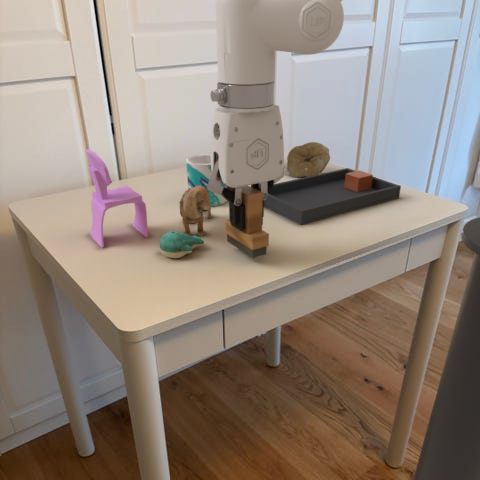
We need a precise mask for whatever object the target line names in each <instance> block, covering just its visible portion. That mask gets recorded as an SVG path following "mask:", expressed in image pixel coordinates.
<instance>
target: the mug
mask: <svg viewBox="0 0 480 480" xmlns="http://www.w3.org/2000/svg"><path fill="white" fill-rule="evenodd" d="M185 163H186V176H187V190H188V189H191V188H193V187H196V186H199V185H200V186H202V187H205V188H206V189H207V185H208V183H209V180H210V177H211V174H212V171H211V153H200V154H192V155H191V156H189V157H186V158H185ZM221 186H224V187H226V184H224V183H223V181H221ZM207 192H208V195H209V203H211V205H210V207H211V208H212V207H217V206H221V205H223V204H225V203H227V202H228V201H227V200H226V199H225V198H224V197H223V196H222V195H219V194H216V193H213V192H211V191H209V190H208V189H207Z"/></svg>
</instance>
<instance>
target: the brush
mask: <svg viewBox="0 0 480 480" xmlns="http://www.w3.org/2000/svg"><path fill="white" fill-rule="evenodd" d="M262 200H263V192H261V191H259V190H256V189H254V188H252V187H251V185H247V186H243V188H242V204H243V205H245V229H244V230H243V231H240V230H238V229H237V228H235V227H233V226H232V225H231V223H230V220H225V221H224V234H226V242H227V243H228V244H230V245H232V246H233V247H235V248H236V249H238V250H239V251H240V252H242V253H244V254H245V255H247V256H248V257H250V258H251V259H255V258H259V257H263V256H266V255H267V252H268V251H267V249H268V246H270V245H269V244H270V243H269V242H270V234H269V232H267V231H266V230H263V225H262Z"/></svg>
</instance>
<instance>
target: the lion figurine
mask: <svg viewBox="0 0 480 480" xmlns="http://www.w3.org/2000/svg"><path fill="white" fill-rule="evenodd" d="M210 205H211V203H209V195H208V192H207V189H206V188H205V187H202V186H200V185H199V186H196V187H193V188H191V189H188V188H187V190H185V192H184V193H182V196H181V199H180V201H179V215H180V217H181V218H182V224H183V228H184V232H182V233H183V234H187V235H190V236H191V229H190V224H195V223H197V229H196V230H197V235H198V236H201V237H202V236H205V235H206V234H207V233H206V232H205V230H204V214H205V219H212V216H213V215H212V211H211V210H212V206H211V207H210Z"/></svg>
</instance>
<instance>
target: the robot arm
mask: <svg viewBox="0 0 480 480" xmlns="http://www.w3.org/2000/svg"><path fill="white" fill-rule="evenodd" d="M342 1H343V0H215V24H216V25H215V27H216V30H215V31H216V52H217V53H216V56H217V57H216V59H217V84H216V86H217V87H216V88H217V89H214V90H211V91H210V100H211V101H212V102H213V103H215V102H217V105H218V107H216V108H215V109H214V113H213V120H212V126H211V127H212V128H211V137H210V138H211V139H210V154H211V171H212V174H211V177H210V180H209V183H208V185H207V189H208V190H209V191H211V192H213V193H216V194H219V195H222V196H223V197H224V198H225V199H226V200H227V202H228V207H229V208H228V213H229V214H228V217H229V218H228V219H229V220H230V223H231V225H232V226H233V227H235V228H237V229H238V230H240V231H243V230H244V229H245V205H243V204H242V188H243V186H247V185H248V186H250V187H252V188H254V189H256V190H259V191H261V192H263V200H262V226H263V225H264V216H265V207H264V200H266V199H267V197H268V192H269V191H270V189H271V188H272V186H273V185H274V184H277V183H278V182H279V181H280V180H281V179H282V178H284V167H285V166H284V165H285V147H284V146H285V145H284V130H283V121H282V115H281V110H280V106H279V105H277V104H275V84H276V80H275V79H276V53H277V52H283V53H284V52H285V53H291V54H299V55H315V54H319V53H321V52H323V51H326V50H327V49H328V48H330V47H332V45H333V44H334V43H335V42H336V41H337V39H338V38H339V36H340V34H341V32H342V29H343V27H344V26H343V25H344V20H345V19H344V18H345V14H344V7H343V4H342ZM221 181H223V183H224V184H226V187H224V186H221ZM229 220H228V221H229Z"/></svg>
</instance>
